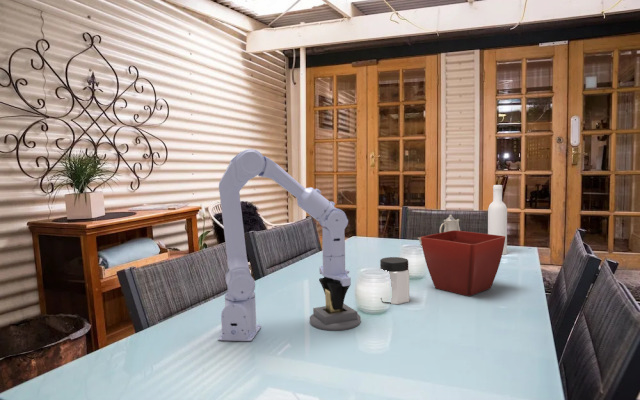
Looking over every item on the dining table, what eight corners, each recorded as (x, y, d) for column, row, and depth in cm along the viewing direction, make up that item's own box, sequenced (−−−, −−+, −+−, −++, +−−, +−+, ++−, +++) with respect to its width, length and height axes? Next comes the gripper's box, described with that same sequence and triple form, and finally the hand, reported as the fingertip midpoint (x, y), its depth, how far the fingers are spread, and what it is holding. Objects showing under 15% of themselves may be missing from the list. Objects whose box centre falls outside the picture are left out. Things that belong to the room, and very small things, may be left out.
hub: (322, 334, 105) (321, 321, 104) (302, 317, 117) (302, 306, 116) (369, 325, 110) (369, 313, 110) (346, 310, 122) (346, 299, 122)
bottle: (508, 252, 195) (509, 184, 193) (505, 255, 188) (506, 185, 186) (489, 251, 199) (489, 184, 197) (485, 254, 193) (486, 185, 190)
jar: (375, 301, 129) (374, 261, 128) (385, 294, 136) (384, 256, 135) (404, 306, 124) (404, 264, 123) (413, 298, 131) (413, 258, 131)
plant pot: (473, 301, 127) (473, 243, 126) (419, 288, 142) (419, 236, 141) (506, 288, 139) (507, 235, 138) (453, 278, 154) (453, 230, 153)
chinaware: (448, 245, 226) (445, 212, 226) (478, 245, 213) (475, 211, 213) (413, 252, 208) (410, 217, 208) (443, 254, 195) (440, 216, 195)
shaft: (330, 318, 111) (329, 291, 110) (325, 315, 114) (324, 288, 113) (345, 316, 113) (344, 289, 112) (340, 312, 115) (339, 286, 115)
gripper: (361, 258, 107) (362, 313, 108) (335, 248, 120) (336, 297, 121) (335, 261, 104) (336, 317, 105) (311, 251, 117) (313, 301, 118)
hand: (334, 307), depth 113 cm, fingers closed on shaft, 3 cm apart
